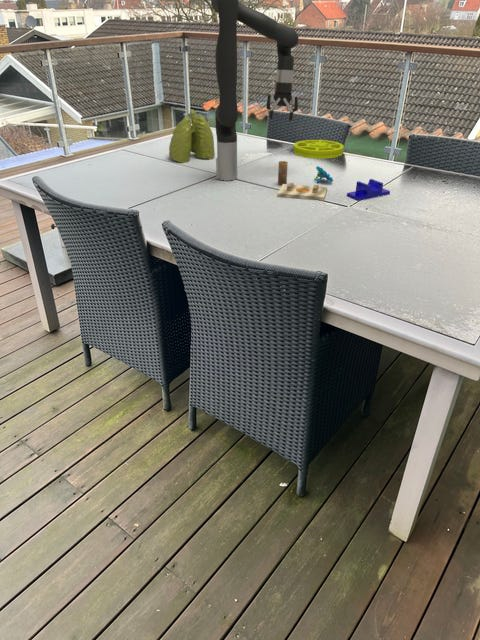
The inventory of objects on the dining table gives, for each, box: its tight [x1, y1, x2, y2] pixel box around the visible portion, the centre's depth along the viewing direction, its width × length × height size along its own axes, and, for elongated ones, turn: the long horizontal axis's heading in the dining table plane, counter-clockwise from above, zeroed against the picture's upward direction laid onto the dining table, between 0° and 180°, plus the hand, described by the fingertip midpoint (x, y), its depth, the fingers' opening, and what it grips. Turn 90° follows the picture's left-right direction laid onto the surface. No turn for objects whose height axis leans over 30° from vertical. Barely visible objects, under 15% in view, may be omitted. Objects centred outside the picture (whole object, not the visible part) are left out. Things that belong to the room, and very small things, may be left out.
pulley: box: [293, 139, 345, 160], centre depth 276 cm, size 28×28×5 cm
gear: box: [314, 165, 334, 184], centre depth 227 cm, size 11×6×10 cm
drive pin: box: [277, 160, 289, 187], centre depth 223 cm, size 4×4×10 cm
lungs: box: [168, 109, 216, 164], centre depth 259 cm, size 25×16×24 cm, turn 116°
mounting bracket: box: [346, 178, 391, 202], centre depth 211 cm, size 18×7×6 cm, turn 120°
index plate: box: [276, 182, 328, 201], centre depth 213 cm, size 20×14×4 cm
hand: (281, 120), depth 226 cm, fingers open, 8 cm apart
